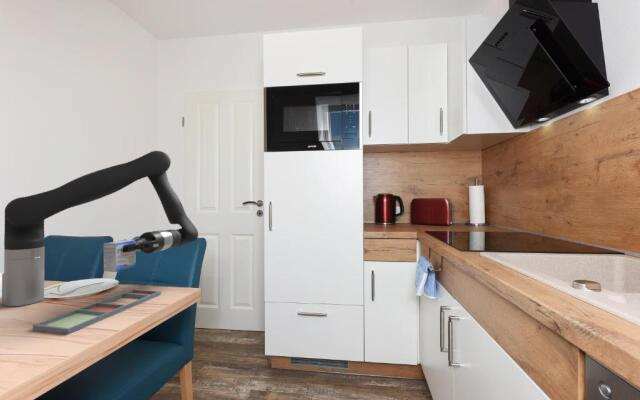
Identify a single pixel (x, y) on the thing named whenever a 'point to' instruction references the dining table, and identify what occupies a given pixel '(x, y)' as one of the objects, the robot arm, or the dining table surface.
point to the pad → (72, 320)
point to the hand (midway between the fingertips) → (117, 248)
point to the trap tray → (98, 311)
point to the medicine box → (118, 256)
